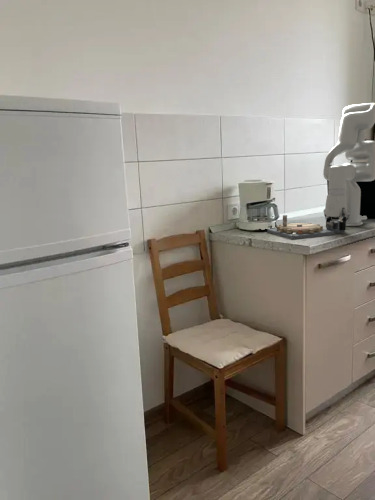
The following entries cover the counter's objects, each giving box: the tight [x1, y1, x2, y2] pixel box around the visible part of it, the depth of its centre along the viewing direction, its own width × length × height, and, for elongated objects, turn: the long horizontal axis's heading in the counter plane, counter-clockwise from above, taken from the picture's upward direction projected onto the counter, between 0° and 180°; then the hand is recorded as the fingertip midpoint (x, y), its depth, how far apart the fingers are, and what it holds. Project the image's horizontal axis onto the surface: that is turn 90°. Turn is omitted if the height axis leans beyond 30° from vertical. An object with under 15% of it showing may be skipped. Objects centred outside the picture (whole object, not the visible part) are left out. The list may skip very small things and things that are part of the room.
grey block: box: [326, 219, 346, 234], centre depth 203 cm, size 4×7×6 cm, turn 110°
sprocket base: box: [266, 227, 335, 240], centre depth 204 cm, size 22×22×2 cm
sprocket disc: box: [277, 214, 324, 234], centre depth 203 cm, size 21×21×7 cm
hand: (335, 229), depth 203 cm, fingers open, 9 cm apart
